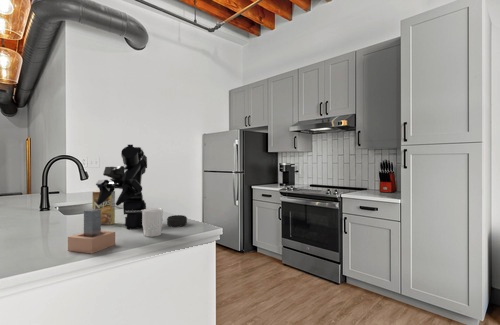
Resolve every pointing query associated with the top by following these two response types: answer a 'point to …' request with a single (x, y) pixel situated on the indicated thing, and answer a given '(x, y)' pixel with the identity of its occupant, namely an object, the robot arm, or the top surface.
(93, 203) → the candy box
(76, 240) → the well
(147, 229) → the white cup
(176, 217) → the smart speaker
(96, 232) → the gray rectangular block
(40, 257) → the top surface
